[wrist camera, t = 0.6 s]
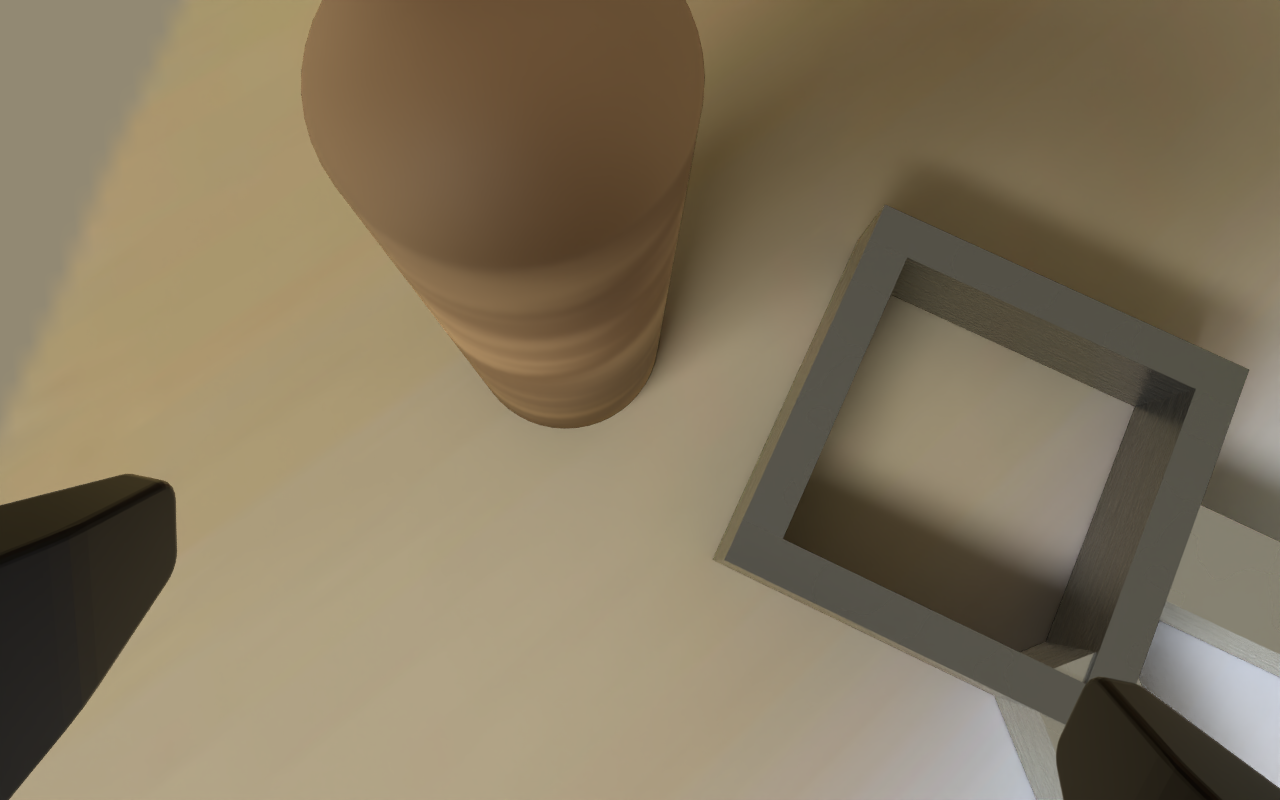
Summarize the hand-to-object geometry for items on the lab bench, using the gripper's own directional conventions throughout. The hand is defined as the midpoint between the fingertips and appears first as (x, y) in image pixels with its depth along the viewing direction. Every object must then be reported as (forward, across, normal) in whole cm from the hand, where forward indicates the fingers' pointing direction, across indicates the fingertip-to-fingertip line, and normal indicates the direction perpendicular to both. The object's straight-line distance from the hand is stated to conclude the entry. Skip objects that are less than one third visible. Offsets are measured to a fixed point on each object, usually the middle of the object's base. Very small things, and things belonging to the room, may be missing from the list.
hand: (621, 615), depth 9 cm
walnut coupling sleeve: (+15, +3, +3) cm, 15 cm away
